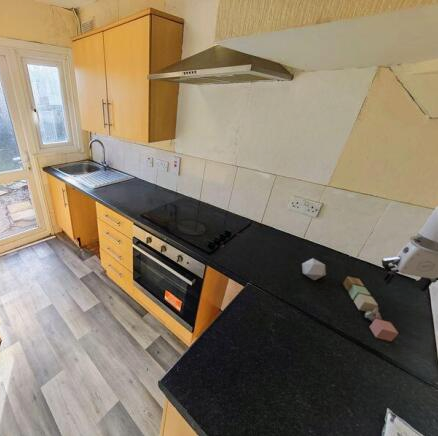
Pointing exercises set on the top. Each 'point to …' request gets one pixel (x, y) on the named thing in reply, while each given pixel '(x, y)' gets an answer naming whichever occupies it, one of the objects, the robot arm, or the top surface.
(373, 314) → the figurine
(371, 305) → the block
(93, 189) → the top surface
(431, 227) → the robot arm
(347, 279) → the block
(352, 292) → the block
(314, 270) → the die
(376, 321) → the block
